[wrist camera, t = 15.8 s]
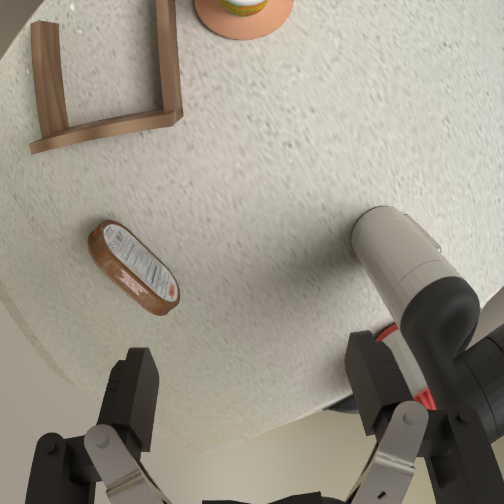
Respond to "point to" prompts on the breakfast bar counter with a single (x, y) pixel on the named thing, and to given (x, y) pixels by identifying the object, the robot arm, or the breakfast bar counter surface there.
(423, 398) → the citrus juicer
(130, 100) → the breakfast bar counter surface
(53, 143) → the cubby
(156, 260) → the tin
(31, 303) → the breakfast bar counter surface
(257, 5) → the supplement bottle
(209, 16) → the coaster
